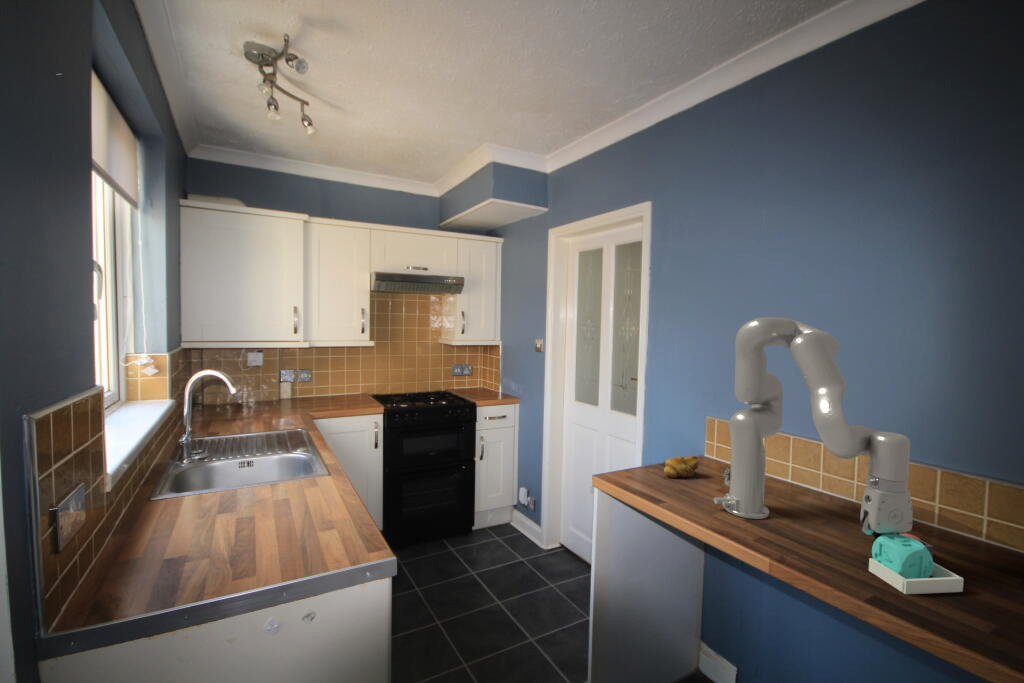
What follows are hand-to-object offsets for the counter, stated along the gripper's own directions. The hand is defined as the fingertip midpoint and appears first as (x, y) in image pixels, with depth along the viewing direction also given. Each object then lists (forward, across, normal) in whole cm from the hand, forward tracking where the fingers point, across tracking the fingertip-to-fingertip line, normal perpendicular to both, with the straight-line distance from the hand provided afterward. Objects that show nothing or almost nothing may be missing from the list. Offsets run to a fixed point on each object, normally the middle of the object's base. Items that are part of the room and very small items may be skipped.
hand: (882, 556), depth 114 cm
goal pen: (+1, 0, -8) cm, 8 cm away
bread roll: (+2, -23, +62) cm, 67 cm away
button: (0, +9, +2) cm, 10 cm away
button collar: (+1, +10, +2) cm, 10 cm away
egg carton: (+2, -6, +54) cm, 54 cm away
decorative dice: (+2, -1, -6) cm, 6 cm away
